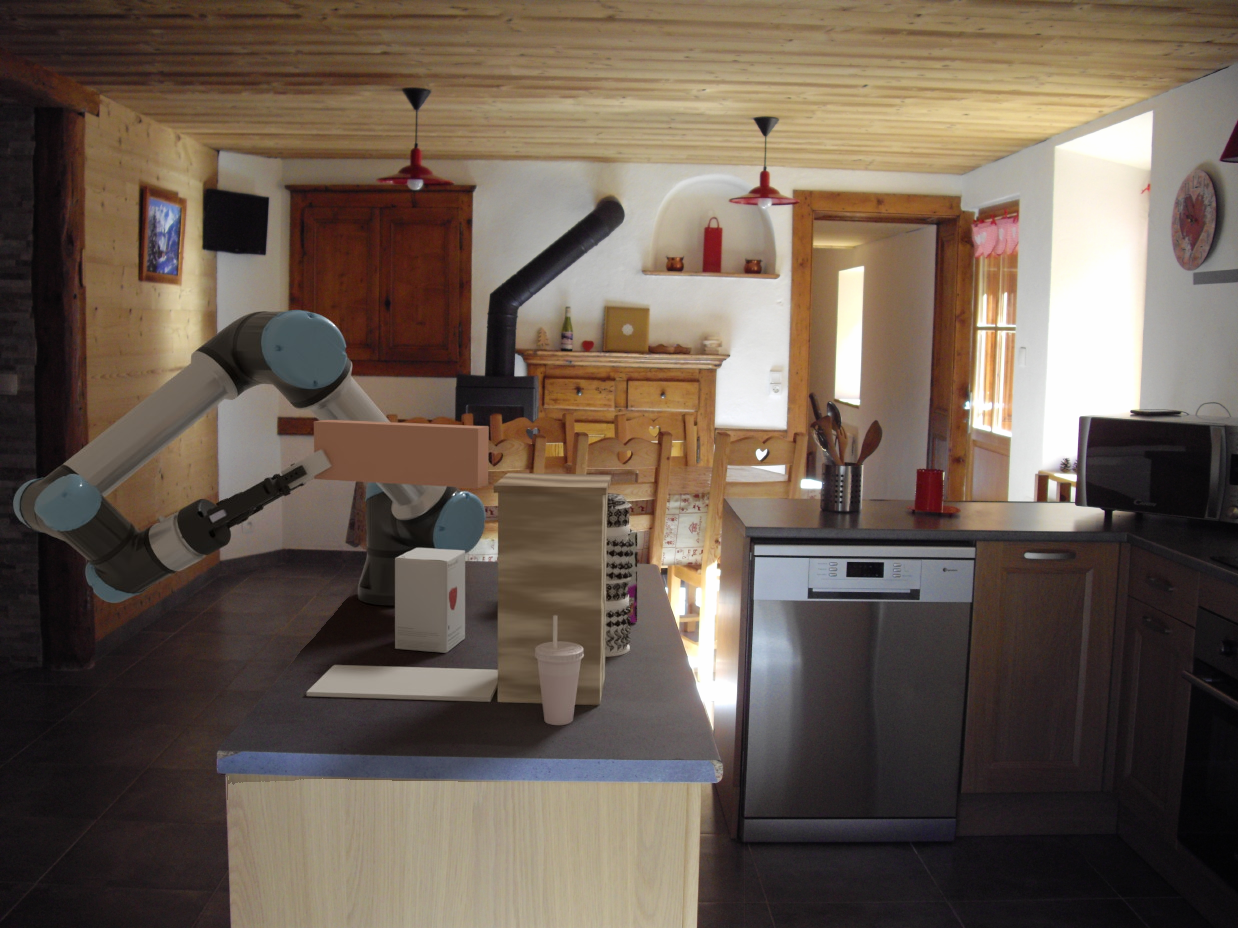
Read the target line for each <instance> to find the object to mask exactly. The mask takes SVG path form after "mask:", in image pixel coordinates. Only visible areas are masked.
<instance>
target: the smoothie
mask: <svg viewBox="0 0 1238 928" xmlns="http://www.w3.org/2000/svg"><path fill="white" fill-rule="evenodd" d="M535 657H536V658H537V660H538V670H539V677H540V686H541V694H542V703H541V704H542V711H543V717H544V722H545V723H546V724H548V725H553V726H565V725H569V724H571V723H572V722H573V721H574V714H575V713H574V712H575V705H576V704H575V700H576V692H577V685H578V678H579V670H580V663H581V658H583V657H584V654H583V647H582V646H581V645H579V644H576V643H572V642H562V641H557V615H553V642H547V643H543V644H540V645H538V646H537V647H536V648H535Z"/></svg>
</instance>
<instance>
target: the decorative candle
mask: <svg viewBox="0 0 1238 928" xmlns="http://www.w3.org/2000/svg"><path fill="white" fill-rule="evenodd" d="M630 507H632V504H631V503H629V502H628V500H627V498H626V497H625V496H624V495H623V494H620V493H613V492H612V493H610V492H608V494H607V563H606V632H605V658H607V657H618V656H623V655H626V654H627V653H628V652H630V650H631V648H630V643H631V636H630V634H631V633H632V631H631V630H632V628H631V627H630V626H629V624H627V623H628V622H630V621H631V617H630V616H629V615H628V613H630V612H631V607H630V606H629V595H628V581H629V580H630V579H631V577H632V573H630V572H629V571H628V570H629V569H630V568H632V567H633V565H632V563H630V562H629V561H628V556H629V558H630V556H632V555H633V554H634V553H633V551H631V550H628V547H632V546H633V545H634V542H633V541H631V540H630V539H629V541H628V534H630V532H631V531H632V530H633V529H631V523H630Z"/></svg>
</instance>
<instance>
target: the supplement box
mask: <svg viewBox="0 0 1238 928" xmlns="http://www.w3.org/2000/svg"><path fill="white" fill-rule="evenodd" d="M394 617H395V618H394V648H395V650H407V651H417V652H418V651H420V652H430V653H431V652H432V653H434V652H435V653H443V654H447V653H448V652H449V651H451V650H452V649H453V648H454V647H456V646H457V645H458V644H460V643H461V642H462V641H463V640H465V639H466V554H465V551H464V550H447V549H432V548H415V549H413V550H411V551H409V552H406V553H404V554H403V555H401V556H399V557H396V558H395V605H394Z"/></svg>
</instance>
